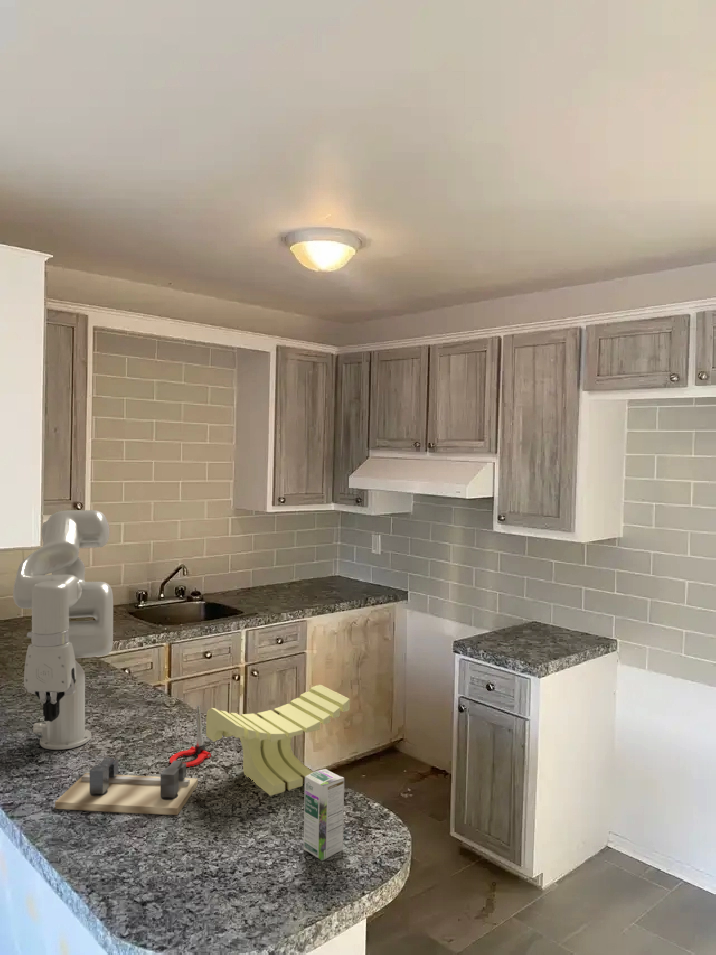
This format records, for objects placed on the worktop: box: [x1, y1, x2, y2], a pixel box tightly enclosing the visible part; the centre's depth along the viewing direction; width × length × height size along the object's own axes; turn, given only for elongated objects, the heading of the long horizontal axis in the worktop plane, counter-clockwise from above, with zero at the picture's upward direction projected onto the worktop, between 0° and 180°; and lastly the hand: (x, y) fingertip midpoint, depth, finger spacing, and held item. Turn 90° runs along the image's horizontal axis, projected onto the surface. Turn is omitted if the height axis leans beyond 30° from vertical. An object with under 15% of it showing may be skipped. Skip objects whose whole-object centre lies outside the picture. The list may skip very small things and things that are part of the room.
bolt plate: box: [54, 760, 199, 816], centre depth 160 cm, size 27×14×7 cm, turn 85°
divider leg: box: [89, 756, 120, 794], centre depth 161 cm, size 3×8×5 cm, turn 175°
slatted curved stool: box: [205, 684, 351, 797], centre depth 171 cm, size 30×16×18 cm, turn 126°
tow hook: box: [169, 704, 212, 768], centre depth 179 cm, size 8×13×9 cm
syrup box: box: [303, 768, 345, 862], centre depth 139 cm, size 6×6×14 cm
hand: (51, 719), depth 159 cm, fingers closed
